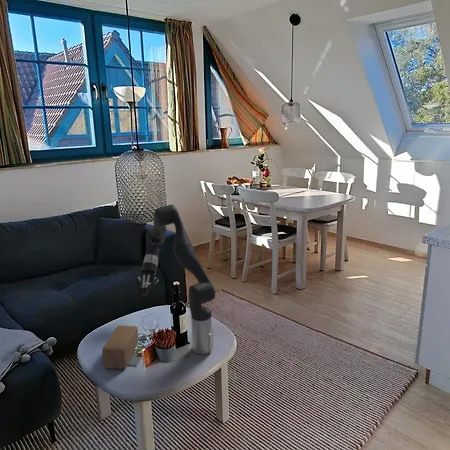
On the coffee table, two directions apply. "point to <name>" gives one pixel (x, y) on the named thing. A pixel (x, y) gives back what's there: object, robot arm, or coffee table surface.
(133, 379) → the coffee table surface
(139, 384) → the coffee table surface
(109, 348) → the wooden block
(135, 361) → the slate mat
